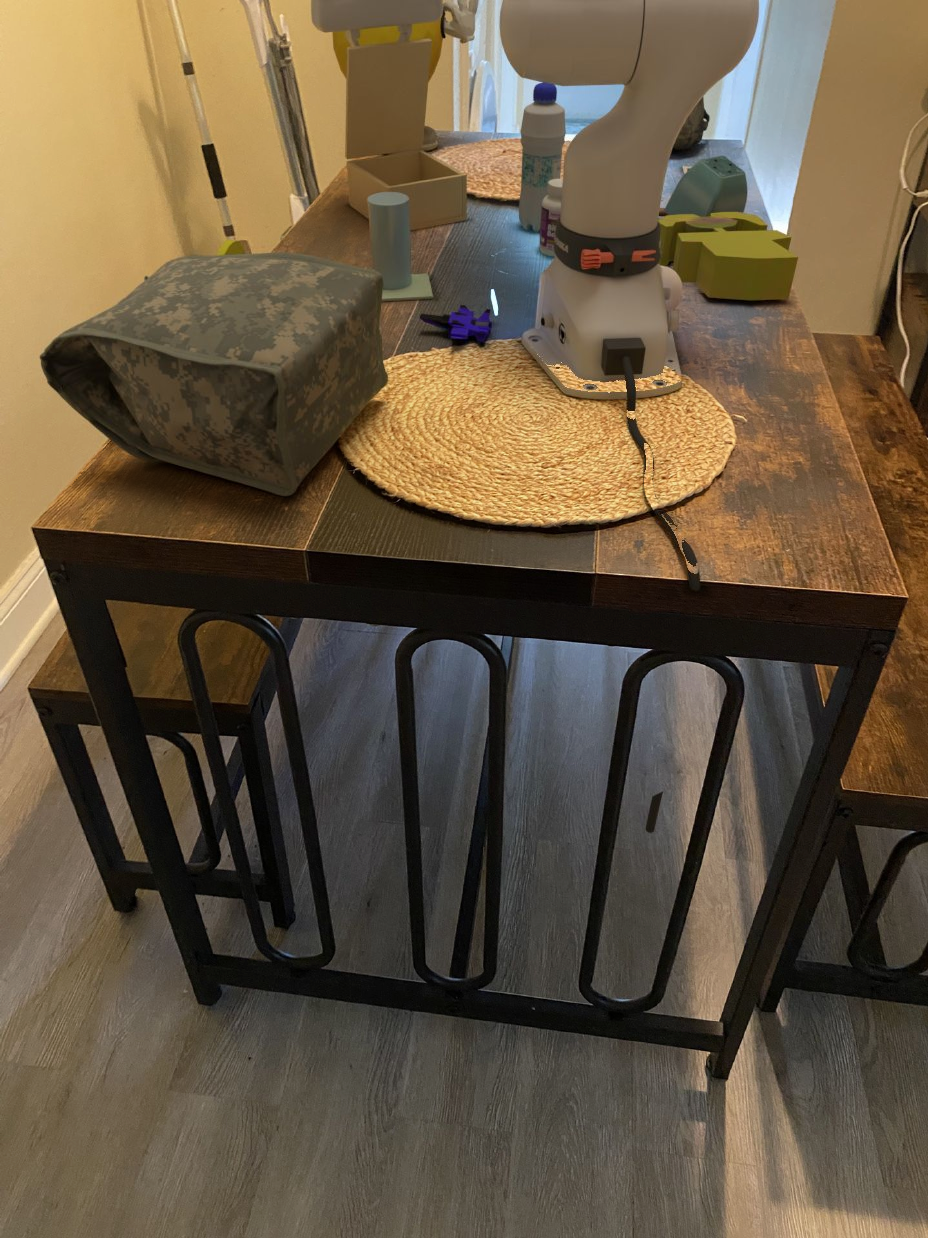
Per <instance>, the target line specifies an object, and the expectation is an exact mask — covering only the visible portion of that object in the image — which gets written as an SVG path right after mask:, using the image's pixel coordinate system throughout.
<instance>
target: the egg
mask: <svg viewBox="0 0 928 1238" xmlns="http://www.w3.org/2000/svg"><path fill="white" fill-rule="evenodd" d="M661 267H662V268H663V270H662V281H663V288H670V291H671V292H670V299H669V300H665V305H666V311H667V310H676V309H677V308H678V306H679V304H680V302H681V300H682V297H683V282H681V280H680V277H679V276H678V274H677V273H676V272H675V271H674V270H673V268H671V267H669V266H661Z"/></svg>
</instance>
